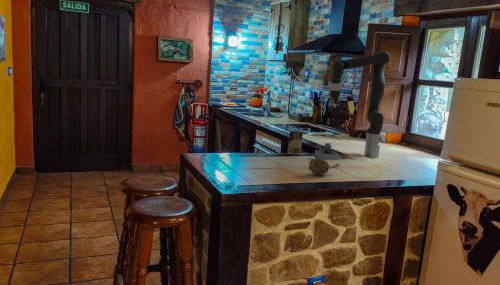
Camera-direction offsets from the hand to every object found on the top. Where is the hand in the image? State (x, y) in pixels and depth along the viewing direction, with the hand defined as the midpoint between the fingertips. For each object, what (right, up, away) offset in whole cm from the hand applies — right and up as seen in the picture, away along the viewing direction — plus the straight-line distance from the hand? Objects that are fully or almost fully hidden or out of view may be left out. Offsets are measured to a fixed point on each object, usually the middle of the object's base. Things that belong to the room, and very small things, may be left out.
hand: (332, 112), depth 296 cm
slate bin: (-7, -33, -15) cm, 37 cm away
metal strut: (-7, -32, -15) cm, 36 cm away
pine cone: (-17, -40, -57) cm, 72 cm away
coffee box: (-28, -30, -5) cm, 41 cm away
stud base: (+5, -33, -11) cm, 35 cm away
